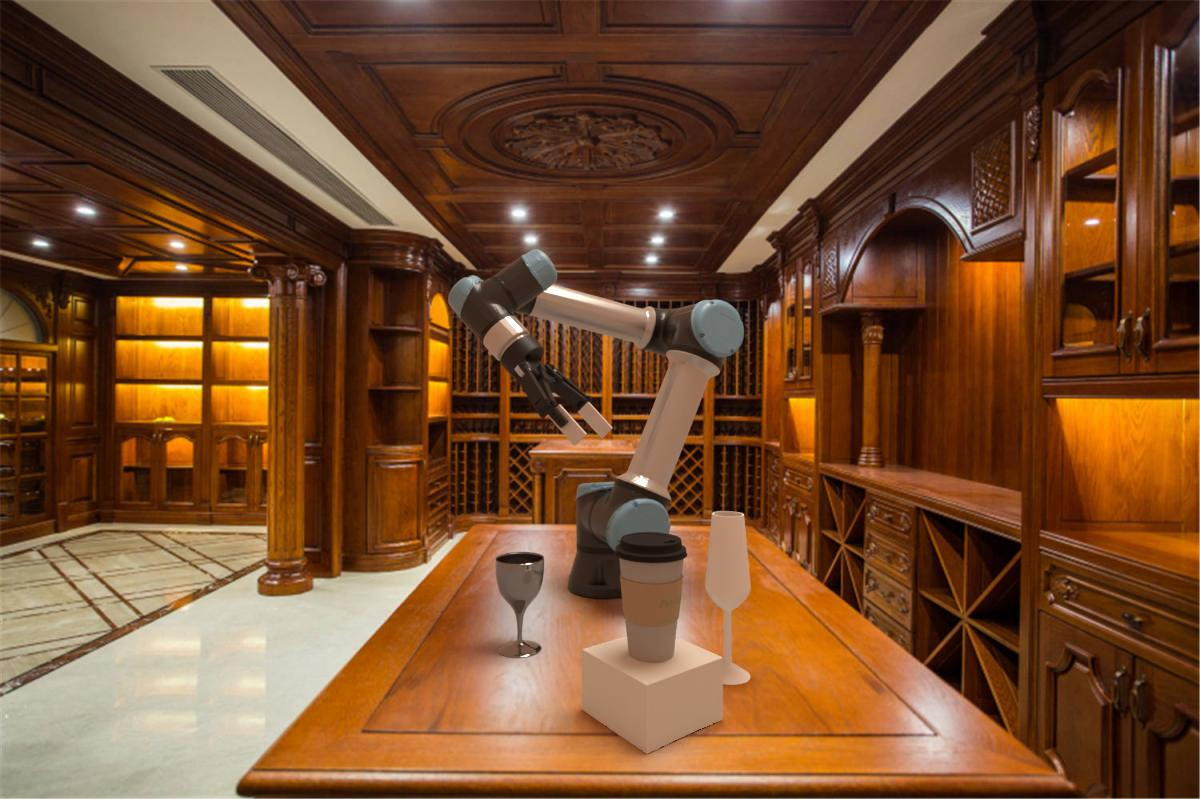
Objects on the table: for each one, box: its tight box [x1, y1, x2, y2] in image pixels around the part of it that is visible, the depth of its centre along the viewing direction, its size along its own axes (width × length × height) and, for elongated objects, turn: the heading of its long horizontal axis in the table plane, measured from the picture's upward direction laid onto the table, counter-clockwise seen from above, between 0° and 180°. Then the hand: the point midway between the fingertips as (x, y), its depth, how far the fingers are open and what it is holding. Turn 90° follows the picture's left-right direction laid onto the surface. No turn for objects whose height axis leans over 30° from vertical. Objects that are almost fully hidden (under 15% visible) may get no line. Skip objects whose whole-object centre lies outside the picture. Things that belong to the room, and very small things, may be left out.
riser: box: [581, 635, 724, 755], centre depth 82 cm, size 13×13×8 cm
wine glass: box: [494, 551, 545, 659], centre depth 103 cm, size 8×8×15 cm
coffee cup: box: [615, 532, 688, 663], centre depth 82 cm, size 9×9×15 cm
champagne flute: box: [704, 510, 752, 686], centre depth 94 cm, size 7×7×24 cm
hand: (594, 436), depth 106 cm, fingers open, 13 cm apart
